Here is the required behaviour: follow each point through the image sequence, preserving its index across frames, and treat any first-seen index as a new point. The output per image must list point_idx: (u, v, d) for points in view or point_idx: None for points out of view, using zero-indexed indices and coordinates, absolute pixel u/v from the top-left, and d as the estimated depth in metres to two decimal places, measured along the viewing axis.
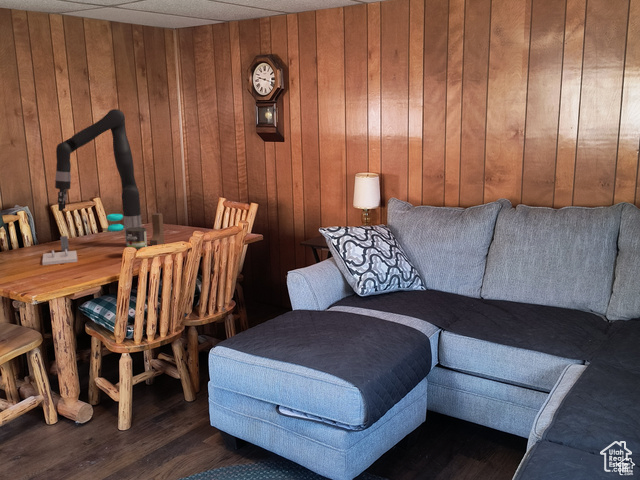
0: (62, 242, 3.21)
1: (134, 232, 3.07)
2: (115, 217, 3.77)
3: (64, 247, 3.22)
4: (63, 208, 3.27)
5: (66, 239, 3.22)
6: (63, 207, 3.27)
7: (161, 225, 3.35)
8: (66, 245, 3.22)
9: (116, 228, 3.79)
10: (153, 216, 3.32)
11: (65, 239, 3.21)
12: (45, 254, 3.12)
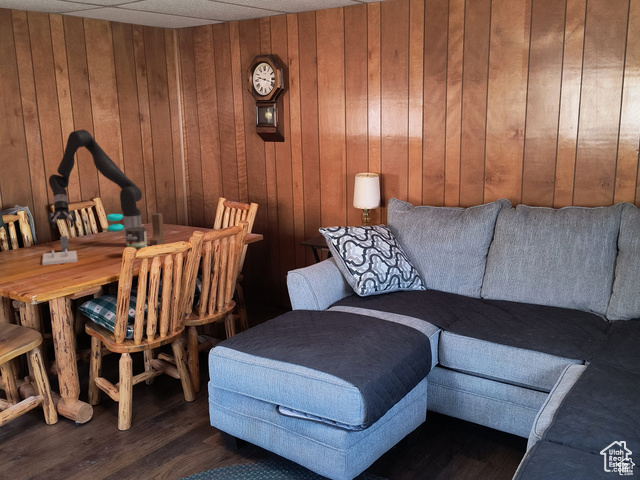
0: (62, 242, 3.21)
1: (134, 232, 3.07)
2: (115, 217, 3.77)
3: (64, 247, 3.22)
4: None
5: (66, 239, 3.22)
6: None
7: (161, 225, 3.35)
8: (66, 245, 3.22)
9: (116, 228, 3.79)
10: (153, 216, 3.32)
11: (65, 239, 3.21)
12: (45, 254, 3.12)
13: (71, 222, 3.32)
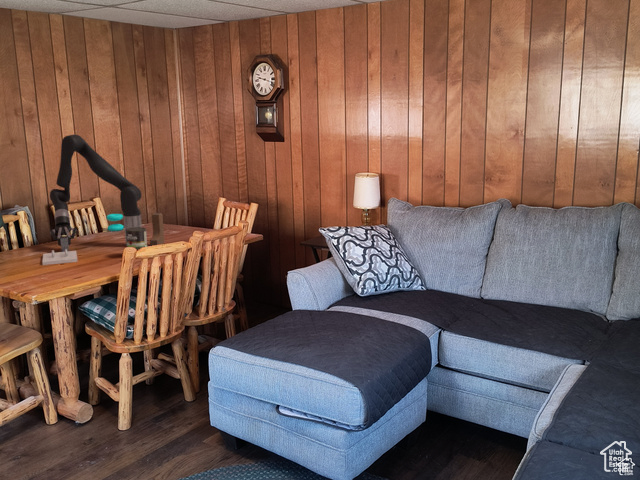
0: (62, 242, 3.21)
1: (134, 232, 3.07)
2: (115, 217, 3.77)
3: (64, 247, 3.22)
4: (68, 244, 3.23)
5: (66, 239, 3.22)
6: (68, 243, 3.23)
7: (161, 225, 3.35)
8: (66, 245, 3.22)
9: (116, 228, 3.79)
10: (153, 216, 3.32)
11: (65, 239, 3.21)
12: (45, 254, 3.12)
13: (69, 240, 3.23)
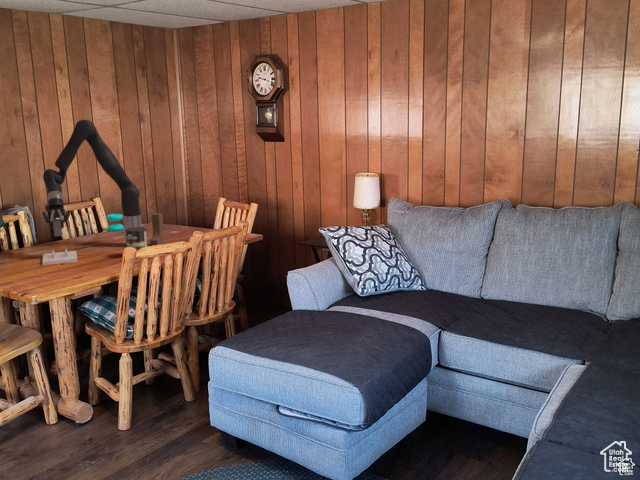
0: (54, 225, 3.05)
1: (134, 232, 3.07)
2: (115, 217, 3.77)
3: (57, 230, 3.06)
4: (61, 227, 3.07)
5: (59, 222, 3.06)
6: None
7: (161, 225, 3.35)
8: (59, 228, 3.06)
9: (116, 228, 3.79)
10: (153, 216, 3.32)
11: (57, 222, 3.05)
12: (45, 254, 3.12)
13: (61, 223, 3.07)
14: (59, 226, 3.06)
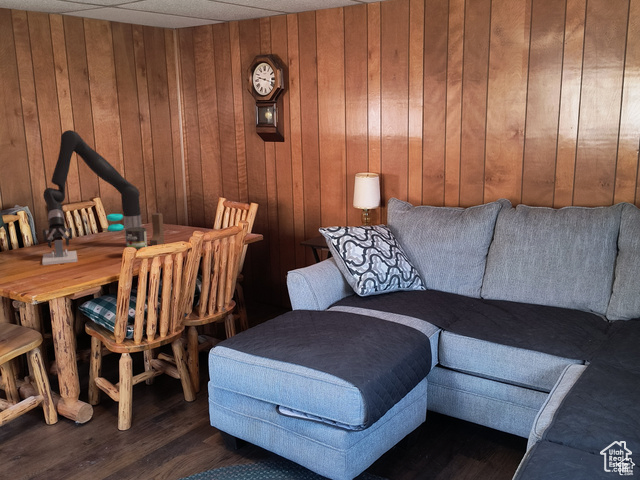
0: (56, 246, 3.04)
1: (134, 232, 3.07)
2: (115, 217, 3.77)
3: (58, 251, 3.05)
4: (66, 245, 3.06)
5: (60, 243, 3.04)
6: (66, 244, 3.07)
7: (161, 225, 3.35)
8: (60, 249, 3.05)
9: (116, 228, 3.79)
10: (153, 216, 3.32)
11: (59, 243, 3.04)
12: (45, 254, 3.12)
13: (67, 240, 3.07)
14: (61, 247, 3.05)
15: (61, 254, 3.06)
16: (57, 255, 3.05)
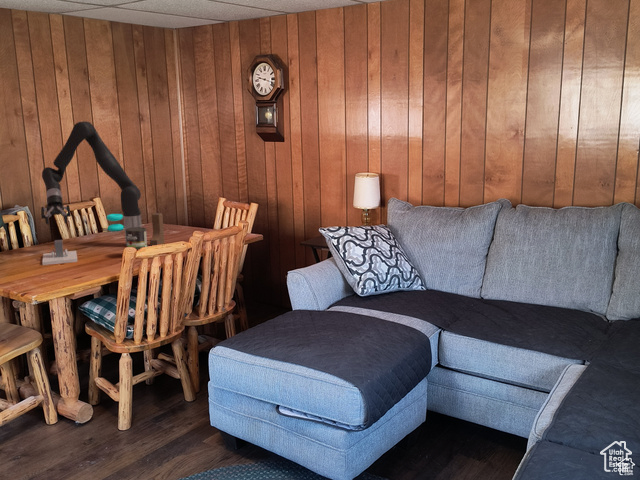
0: (56, 246, 3.04)
1: (134, 232, 3.07)
2: (115, 217, 3.77)
3: (58, 251, 3.05)
4: None
5: (60, 243, 3.04)
6: None
7: (161, 225, 3.35)
8: (60, 249, 3.05)
9: (116, 228, 3.79)
10: (153, 216, 3.32)
11: (59, 243, 3.04)
12: (45, 254, 3.12)
13: (65, 217, 3.17)
14: (61, 247, 3.05)
15: (61, 254, 3.06)
16: (57, 255, 3.05)
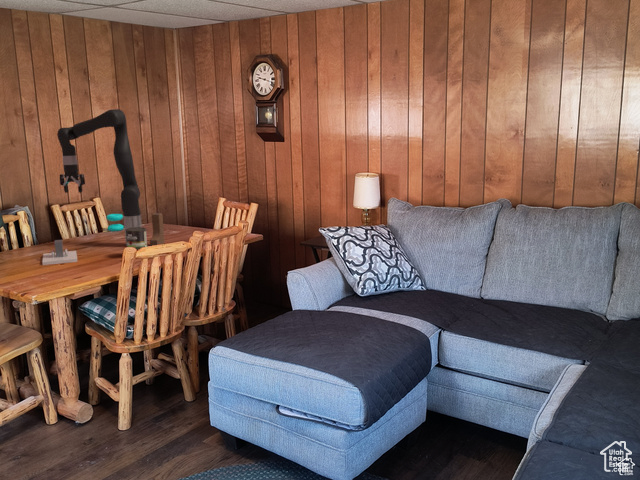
0: (56, 246, 3.04)
1: (134, 232, 3.07)
2: (115, 217, 3.77)
3: (58, 251, 3.05)
4: (79, 192, 3.38)
5: (60, 243, 3.04)
6: (79, 191, 3.37)
7: (161, 225, 3.35)
8: (60, 249, 3.05)
9: (116, 228, 3.79)
10: (153, 216, 3.32)
11: (59, 243, 3.04)
12: (45, 254, 3.12)
13: (79, 188, 3.36)
14: (61, 247, 3.05)
15: (61, 254, 3.06)
16: (57, 255, 3.05)
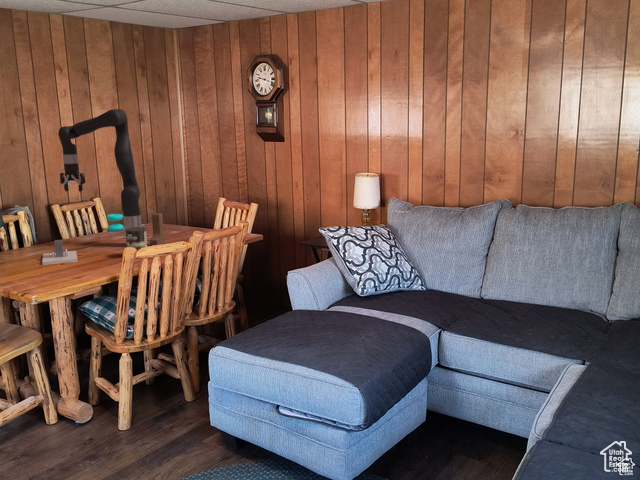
0: (56, 246, 3.04)
1: (134, 232, 3.07)
2: (115, 217, 3.77)
3: (58, 251, 3.05)
4: None
5: (60, 243, 3.04)
6: None
7: (161, 225, 3.35)
8: (60, 249, 3.05)
9: (116, 228, 3.79)
10: (153, 216, 3.32)
11: (59, 243, 3.04)
12: (45, 254, 3.12)
13: (79, 187, 3.36)
14: (61, 247, 3.05)
15: (61, 254, 3.06)
16: (57, 255, 3.05)
